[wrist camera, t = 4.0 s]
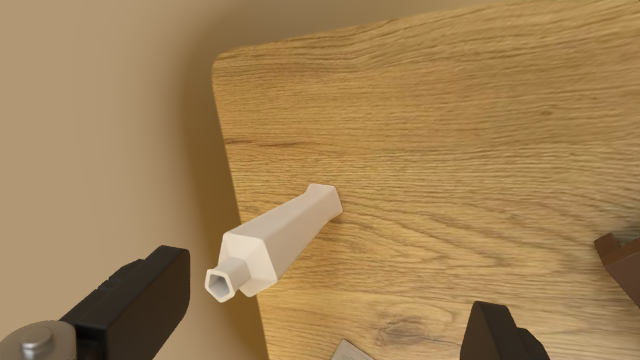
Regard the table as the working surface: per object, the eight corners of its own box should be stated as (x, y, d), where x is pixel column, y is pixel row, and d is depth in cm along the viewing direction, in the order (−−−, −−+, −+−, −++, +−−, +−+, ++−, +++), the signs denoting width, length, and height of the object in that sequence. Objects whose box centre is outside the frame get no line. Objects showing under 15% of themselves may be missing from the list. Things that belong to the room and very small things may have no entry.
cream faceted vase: (339, 234, 37) (245, 334, 24) (297, 215, 38) (186, 299, 25) (353, 190, 35) (260, 273, 22) (309, 171, 36) (196, 238, 23)
